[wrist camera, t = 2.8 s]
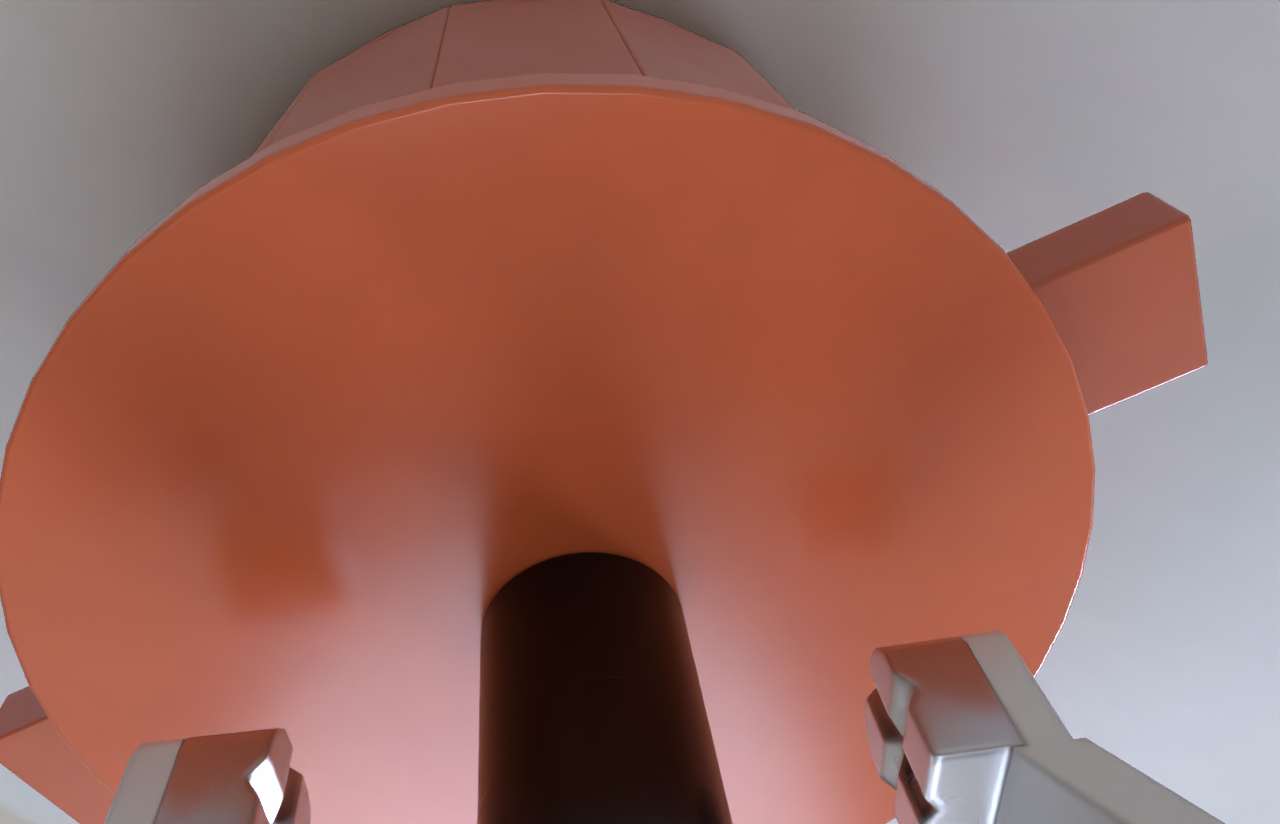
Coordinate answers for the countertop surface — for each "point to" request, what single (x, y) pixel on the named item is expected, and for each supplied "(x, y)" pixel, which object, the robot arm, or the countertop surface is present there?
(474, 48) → the pot
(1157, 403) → the countertop surface
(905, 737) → the robot arm
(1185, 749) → the countertop surface
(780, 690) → the pot lid
